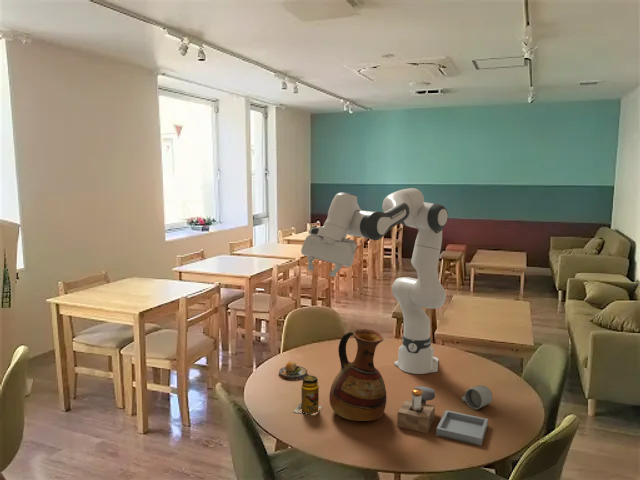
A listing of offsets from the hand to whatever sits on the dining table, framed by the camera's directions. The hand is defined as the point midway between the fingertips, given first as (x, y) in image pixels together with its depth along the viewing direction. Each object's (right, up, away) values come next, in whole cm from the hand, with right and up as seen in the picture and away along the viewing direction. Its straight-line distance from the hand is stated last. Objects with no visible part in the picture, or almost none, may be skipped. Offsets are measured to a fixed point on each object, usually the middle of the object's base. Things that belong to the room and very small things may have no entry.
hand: (320, 273), depth 172 cm
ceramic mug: (+56, -49, +10) cm, 75 cm away
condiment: (-5, -49, +5) cm, 50 cm away
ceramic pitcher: (+13, -50, +2) cm, 51 cm away
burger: (-12, -45, +36) cm, 59 cm away
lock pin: (+32, -50, -4) cm, 60 cm away
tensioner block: (+34, -50, 0) cm, 60 cm away
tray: (+46, -51, -8) cm, 70 cm away
